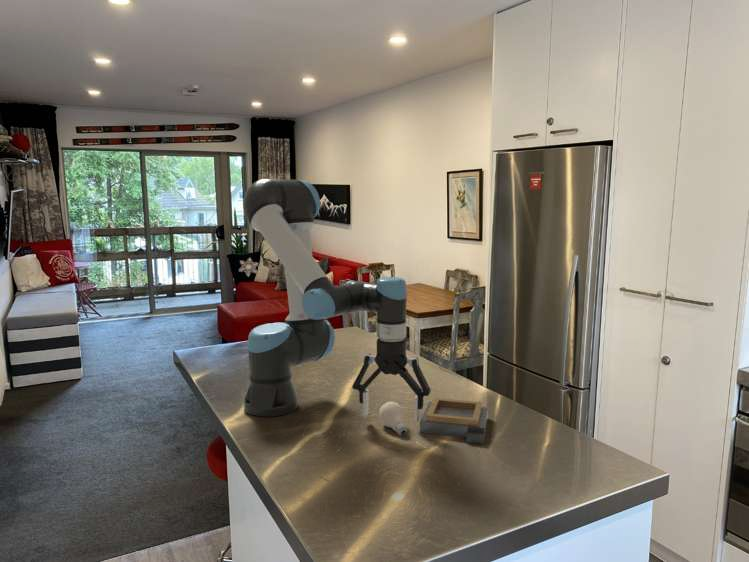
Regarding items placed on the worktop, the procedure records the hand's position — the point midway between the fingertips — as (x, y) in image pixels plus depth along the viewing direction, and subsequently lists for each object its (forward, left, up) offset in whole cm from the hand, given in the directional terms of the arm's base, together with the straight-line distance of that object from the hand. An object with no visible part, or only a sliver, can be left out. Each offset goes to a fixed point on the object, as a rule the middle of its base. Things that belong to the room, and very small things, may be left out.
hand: (390, 417), depth 144 cm
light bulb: (+1, -1, -3) cm, 3 cm away
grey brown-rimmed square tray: (+16, +5, -2) cm, 17 cm away
